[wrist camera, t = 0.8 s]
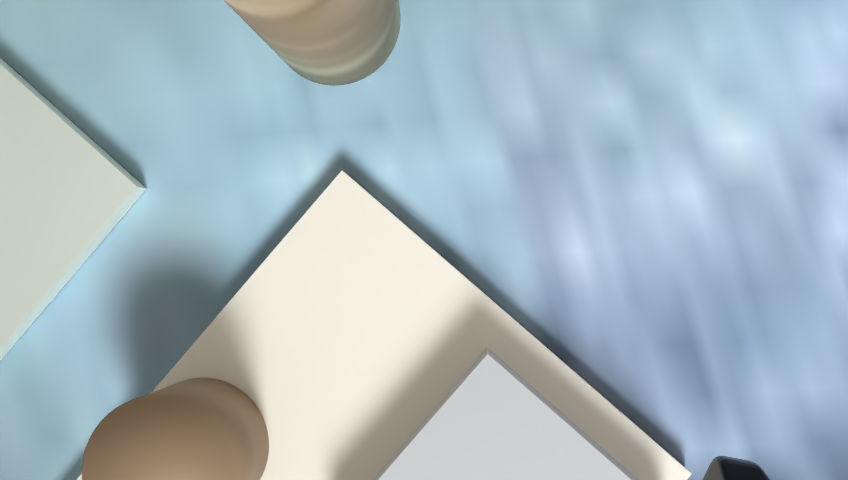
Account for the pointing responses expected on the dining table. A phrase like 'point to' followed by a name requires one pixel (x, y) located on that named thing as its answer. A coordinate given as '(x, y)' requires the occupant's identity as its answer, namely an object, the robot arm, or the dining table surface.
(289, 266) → the tile
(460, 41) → the dining table surface
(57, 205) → the board
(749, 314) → the dining table surface
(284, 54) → the dowel
